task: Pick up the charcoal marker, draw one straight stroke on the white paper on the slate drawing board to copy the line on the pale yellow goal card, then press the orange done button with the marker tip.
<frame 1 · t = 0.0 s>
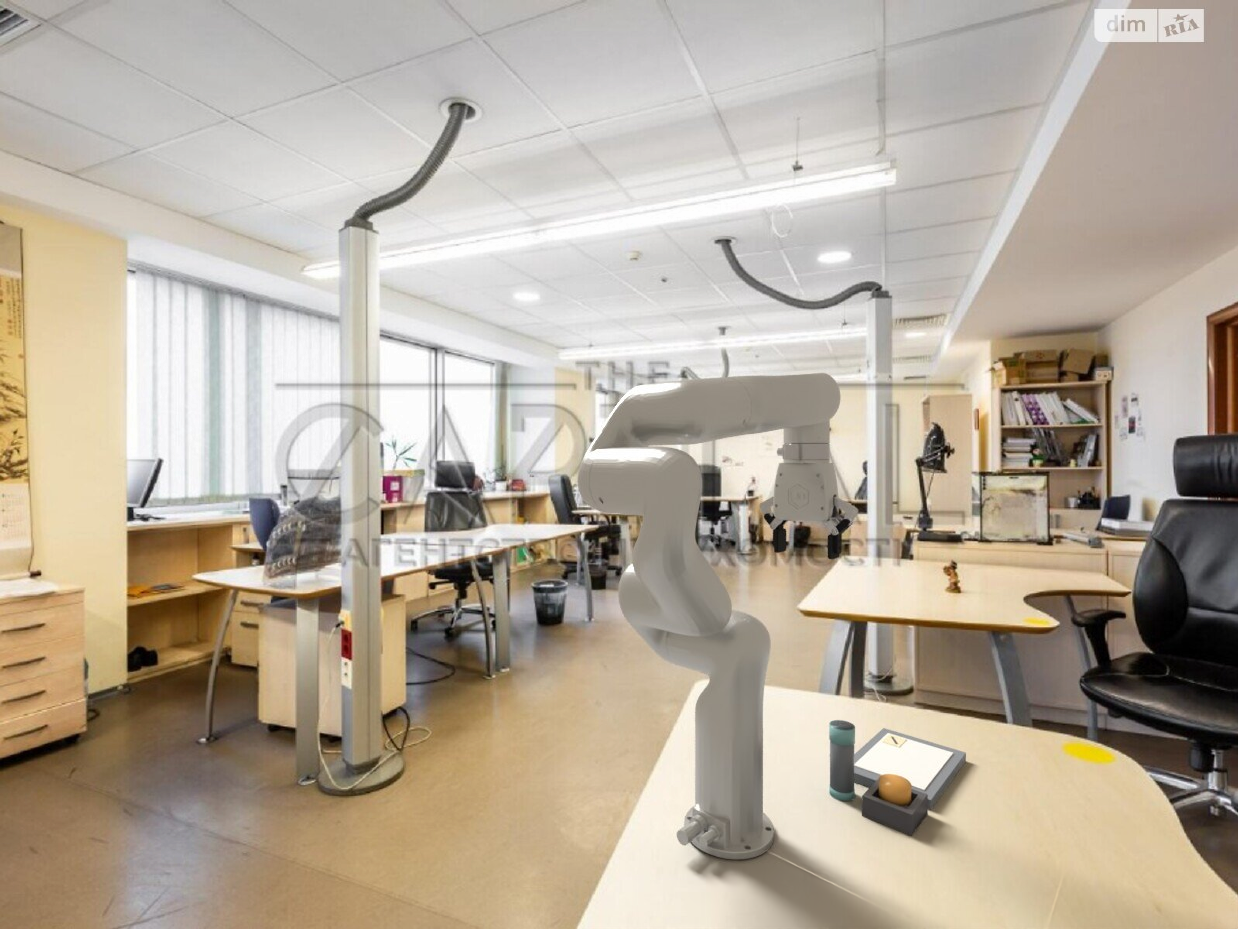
hand: (806, 554, 103), 37 cm above the table, tool pointing down, fingers open, 9 cm apart
button housing: (894, 815, 90), on the table
drawing board: (904, 768, 103), on the table
marker: (841, 794, 95), on the table
done button: (894, 789, 90), point 4 cm above the table, slide at 0.0 cm
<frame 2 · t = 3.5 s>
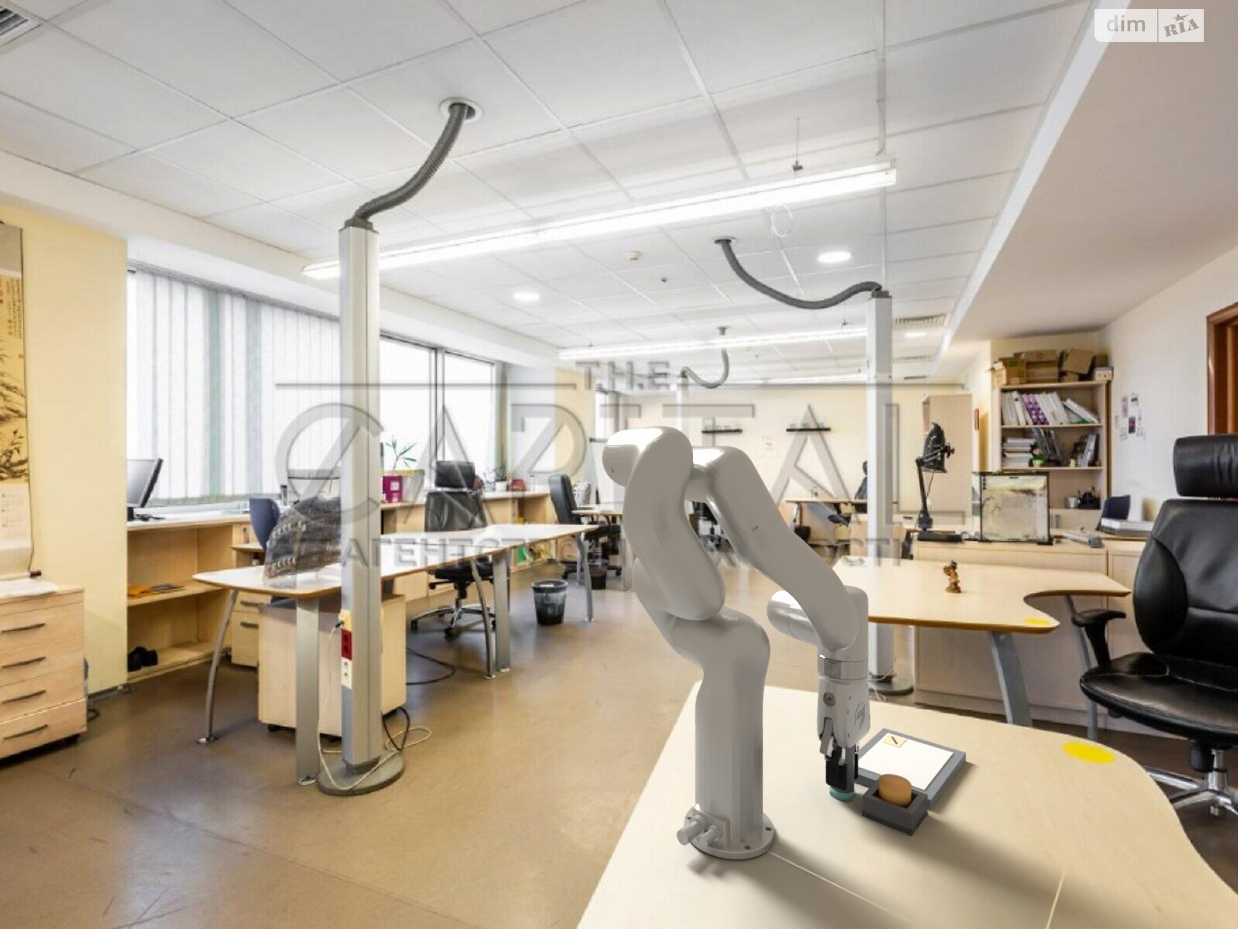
hand: (842, 780, 95), 2 cm above the table, tool pointing down, fingers closed on marker, 3 cm apart
marker: (841, 794, 95), on the table, touching gripper
everything else where it was.
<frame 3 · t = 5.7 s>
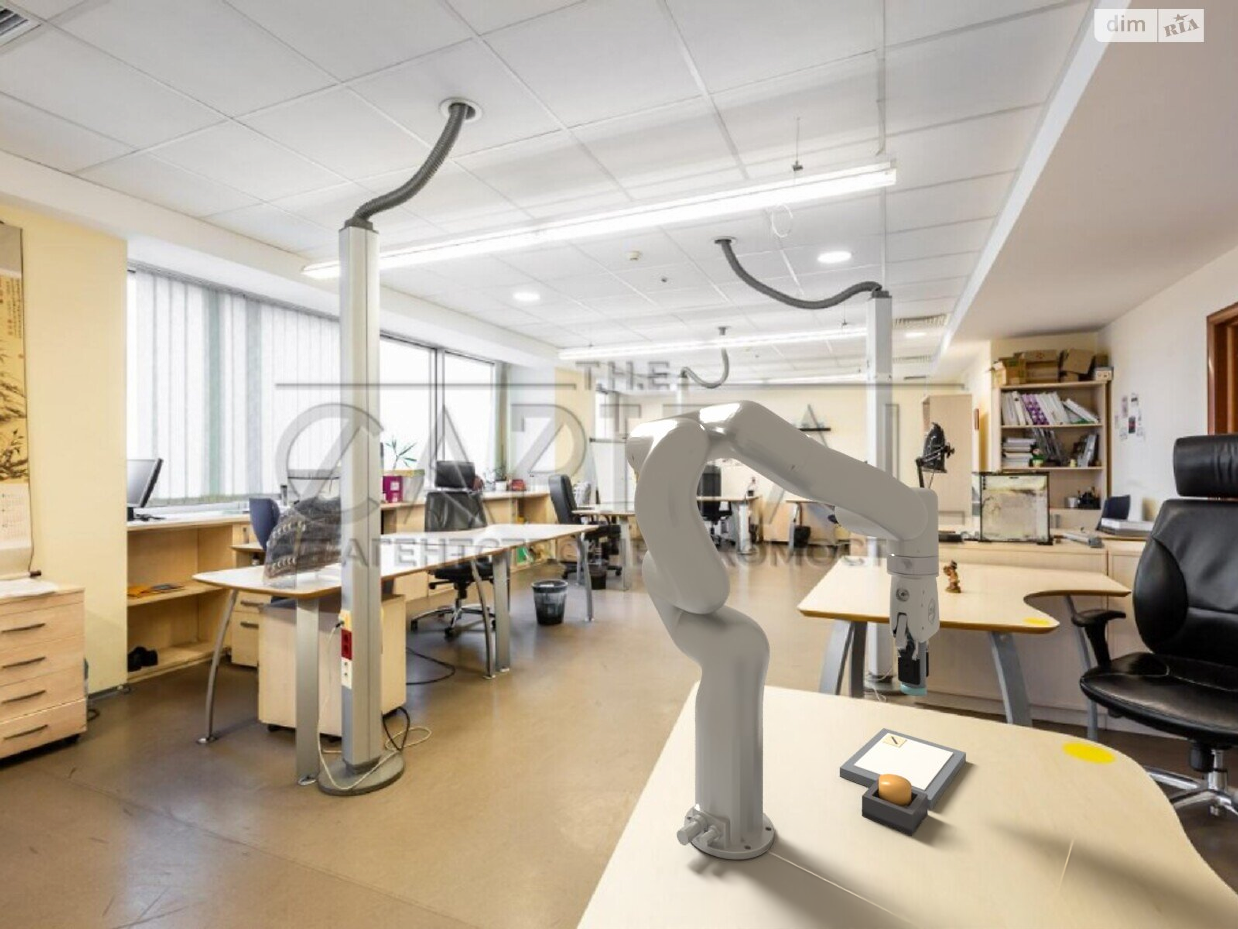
hand: (913, 677, 97), 18 cm above the table, tool pointing down, fingers closed on marker, 3 cm apart
marker: (913, 691, 97), point 16 cm above the table, touching gripper
everything else where it was.
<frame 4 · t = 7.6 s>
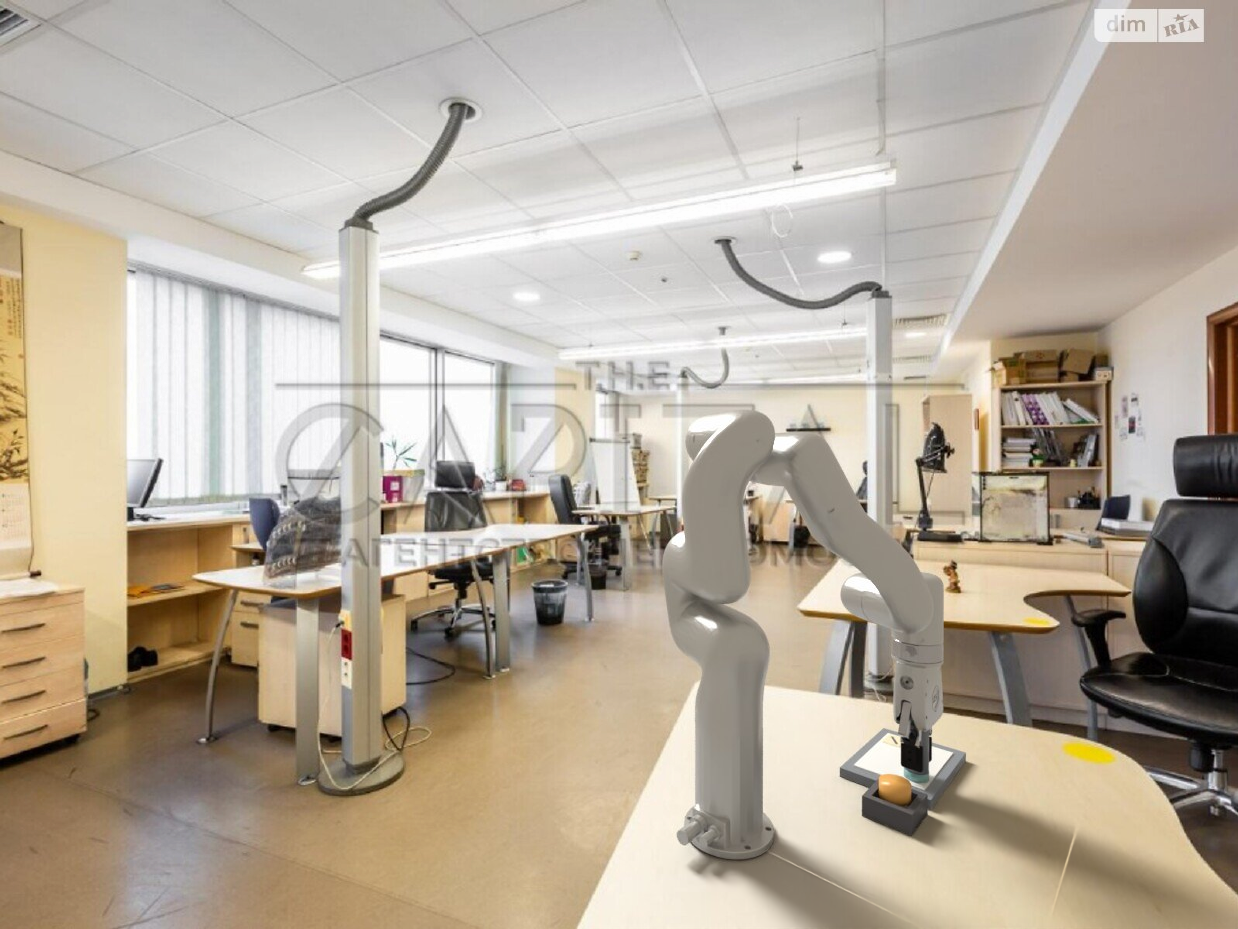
hand: (916, 762, 97), 4 cm above the table, tool pointing down, fingers closed on marker, 3 cm apart
marker: (916, 776, 97), point 2 cm above the table, touching gripper
everything else where it was.
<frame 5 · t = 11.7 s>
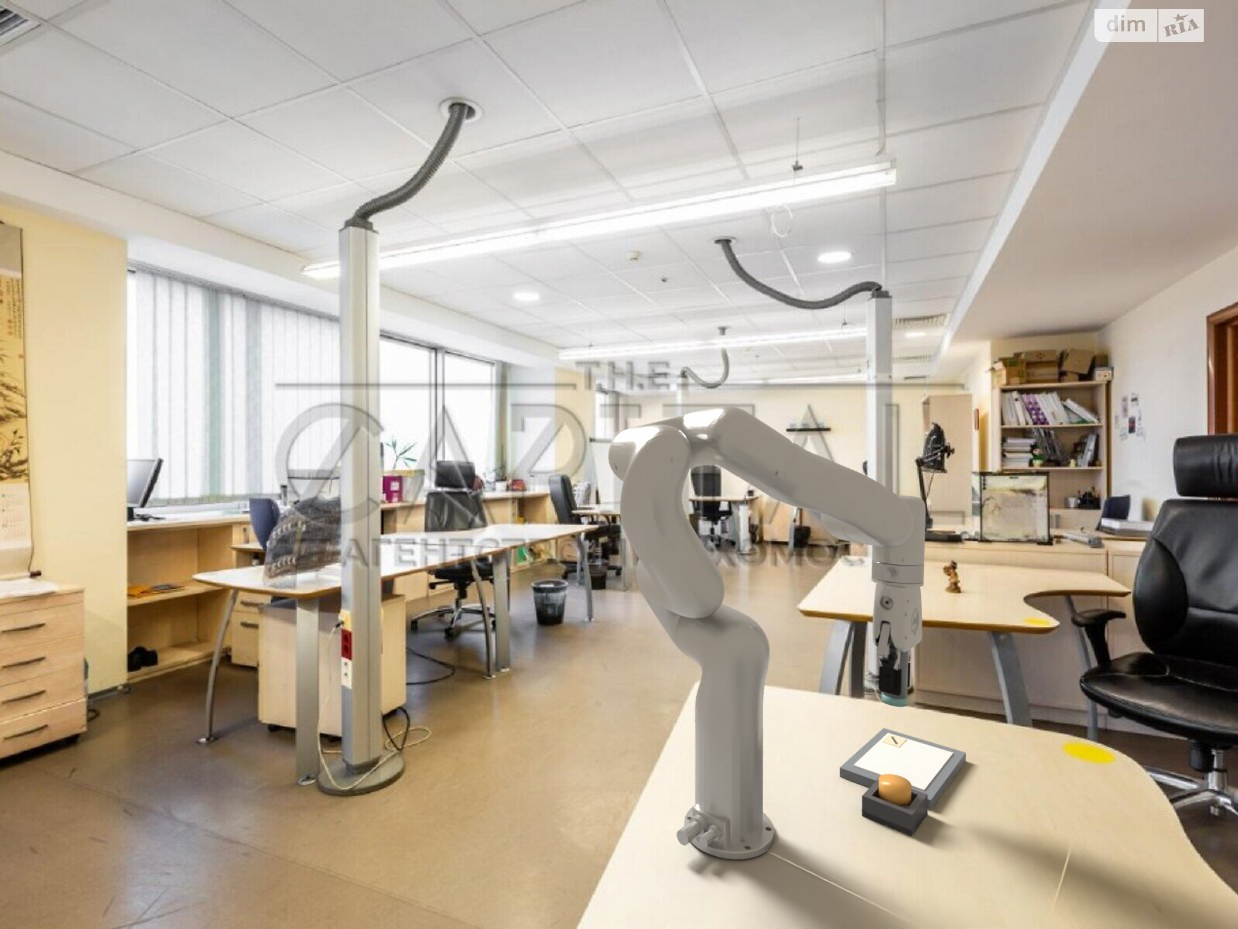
hand: (894, 688, 95), 17 cm above the table, tool pointing down, fingers closed on marker, 3 cm apart
marker: (894, 702, 95), point 14 cm above the table, touching gripper
everything else where it was.
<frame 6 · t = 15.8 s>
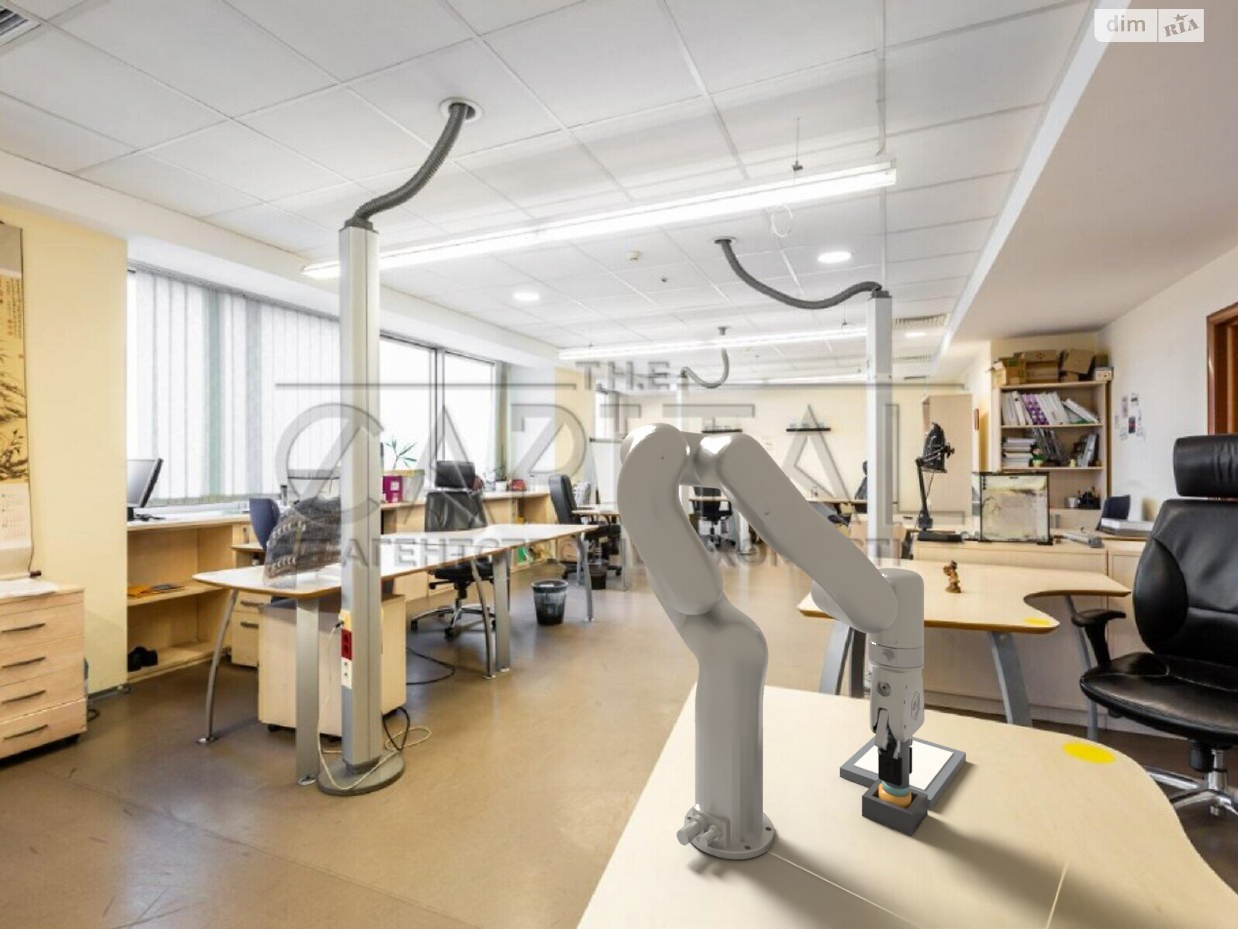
hand: (895, 775, 90), 6 cm above the table, tool pointing down, fingers closed on marker, 3 cm apart
marker: (895, 790, 90), point 4 cm above the table, touching gripper
done button: (894, 798, 90), point 3 cm above the table, slide at 1.2 cm
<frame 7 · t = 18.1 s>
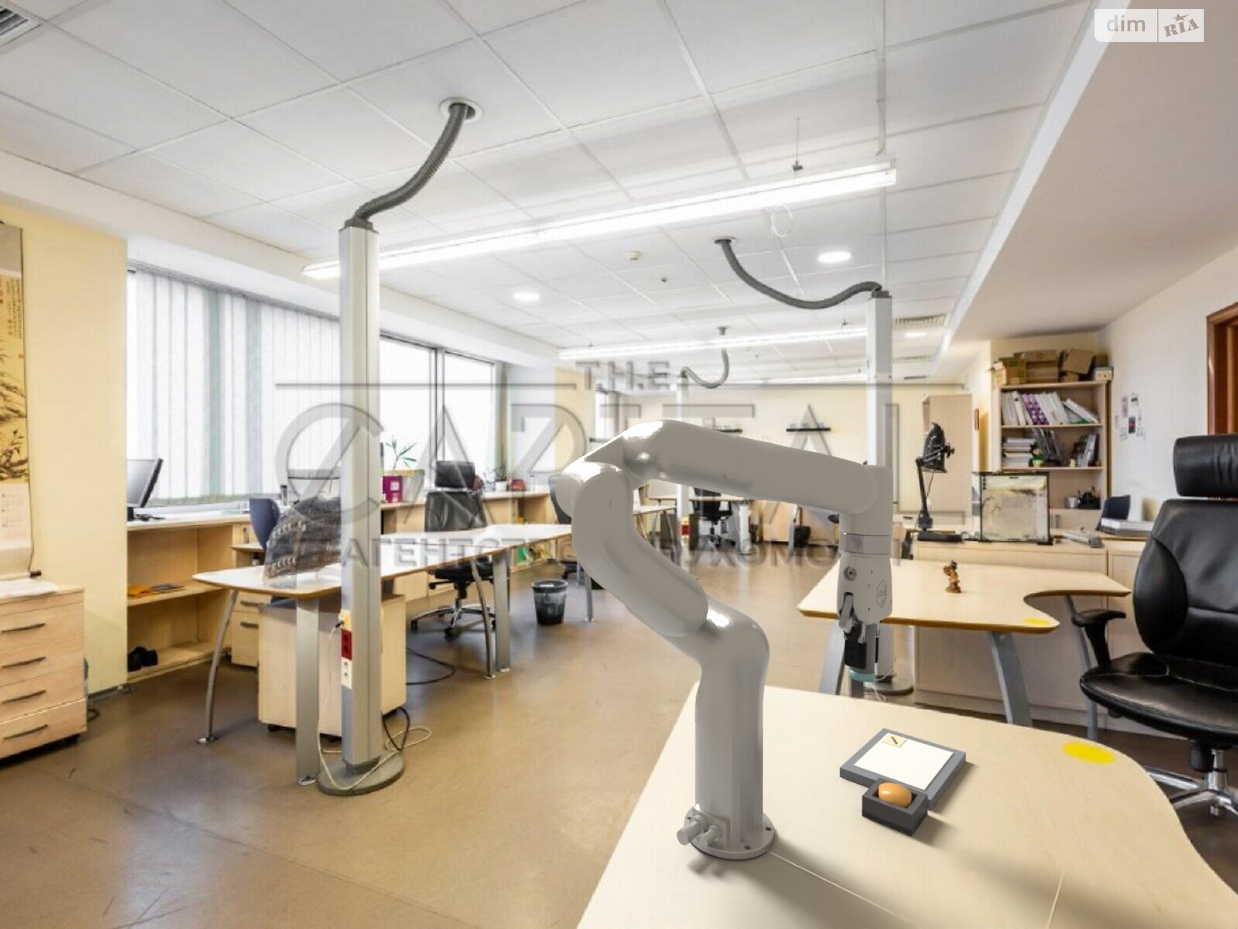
hand: (861, 662, 93), 22 cm above the table, tool pointing down, fingers closed on marker, 3 cm apart
marker: (861, 677, 93), point 19 cm above the table, touching gripper
everything else where it was.
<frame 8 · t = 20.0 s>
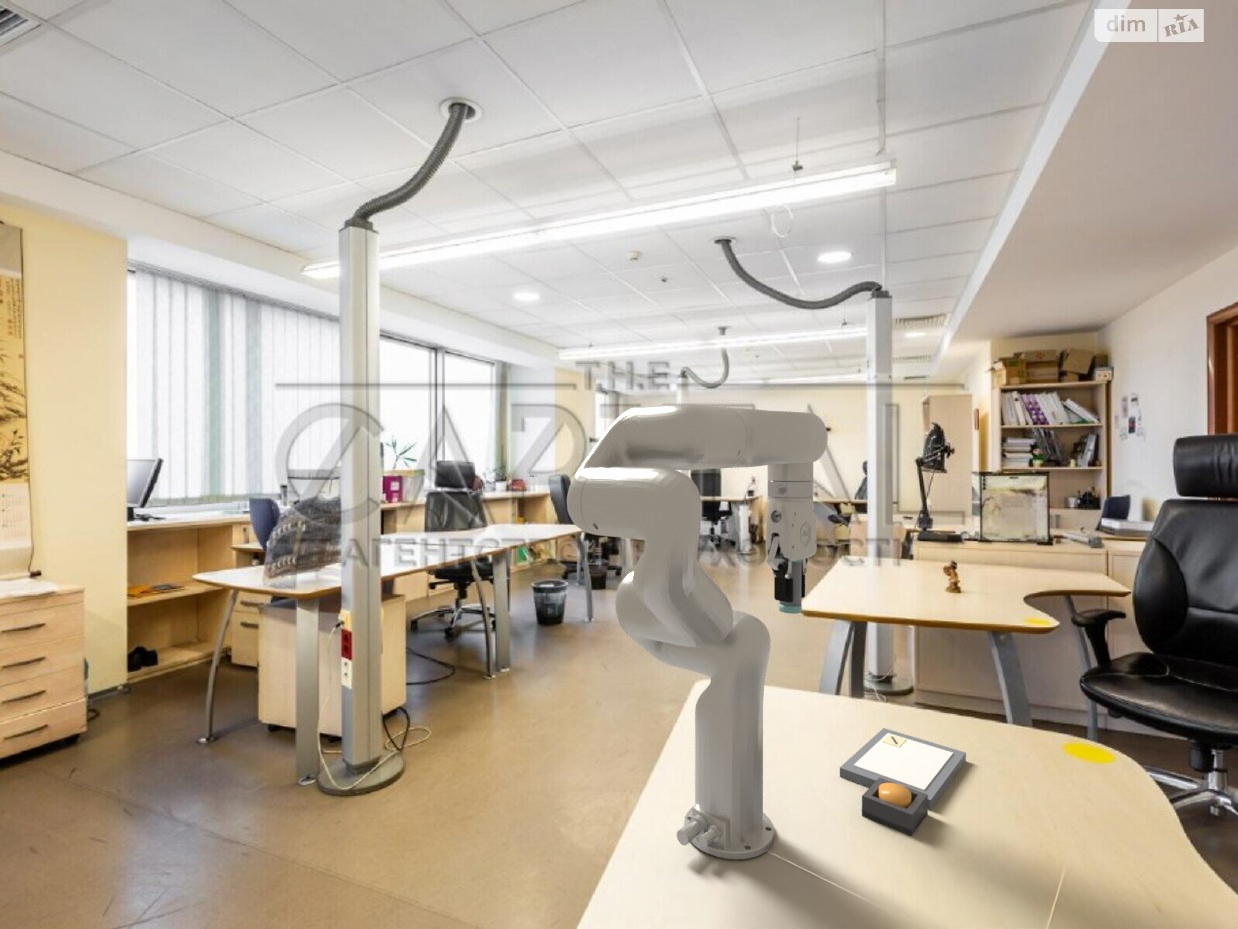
hand: (789, 597, 103), 29 cm above the table, tool pointing down, fingers closed on marker, 3 cm apart
marker: (790, 610, 103), point 27 cm above the table, touching gripper
everything else where it was.
at the end: done button slide at 1.4 cm; the gripper is holding marker; marker tilted 0° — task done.
